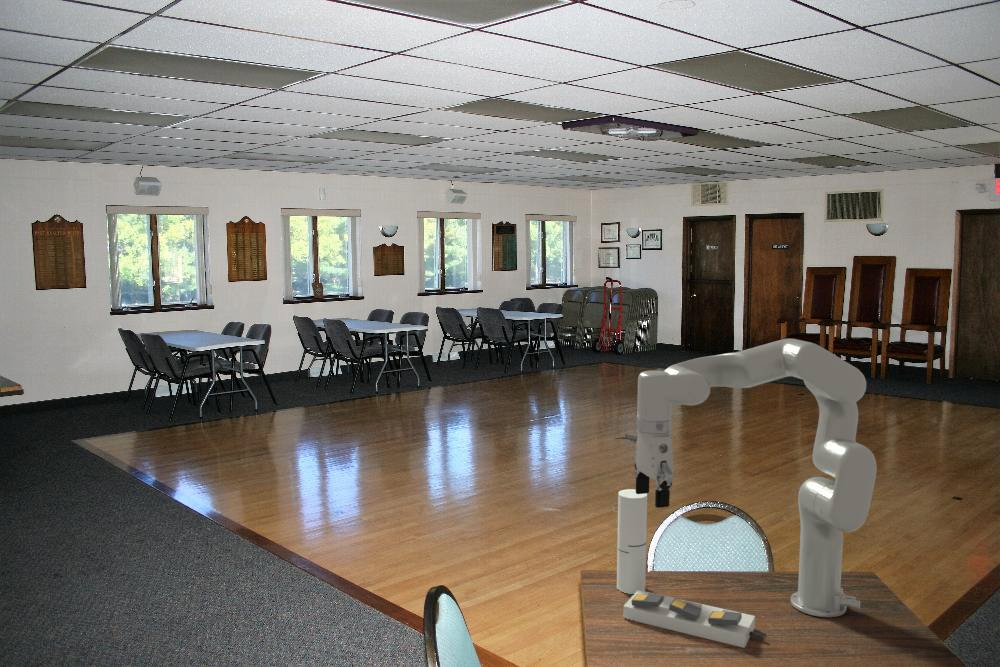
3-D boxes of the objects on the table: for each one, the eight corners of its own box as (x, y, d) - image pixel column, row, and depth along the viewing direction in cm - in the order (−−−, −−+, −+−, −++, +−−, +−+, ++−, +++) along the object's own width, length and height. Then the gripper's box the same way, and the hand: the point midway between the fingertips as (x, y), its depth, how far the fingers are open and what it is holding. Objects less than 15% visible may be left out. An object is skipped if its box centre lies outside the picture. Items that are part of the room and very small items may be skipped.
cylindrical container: (644, 595, 200) (646, 499, 197) (615, 593, 202) (617, 497, 199) (645, 583, 207) (647, 490, 204) (617, 581, 209) (619, 488, 206)
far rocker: (663, 600, 188) (662, 594, 188) (658, 607, 185) (657, 601, 185) (637, 598, 191) (637, 593, 191) (632, 605, 188) (631, 600, 188)
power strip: (768, 631, 182) (768, 618, 182) (758, 651, 174) (759, 637, 173) (637, 601, 197) (638, 588, 197) (623, 618, 189) (623, 605, 188)
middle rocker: (700, 613, 184) (701, 608, 184) (695, 620, 180) (697, 615, 180) (674, 602, 187) (675, 597, 187) (668, 609, 183) (669, 604, 183)
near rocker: (741, 618, 179) (741, 612, 179) (737, 625, 176) (736, 619, 176) (713, 616, 182) (712, 610, 182) (708, 623, 179) (707, 618, 179)
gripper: (688, 434, 173) (685, 510, 175) (651, 416, 189) (649, 487, 191) (656, 436, 171) (654, 514, 173) (622, 418, 187) (620, 489, 189)
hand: (652, 499), depth 182 cm, fingers open, 9 cm apart
